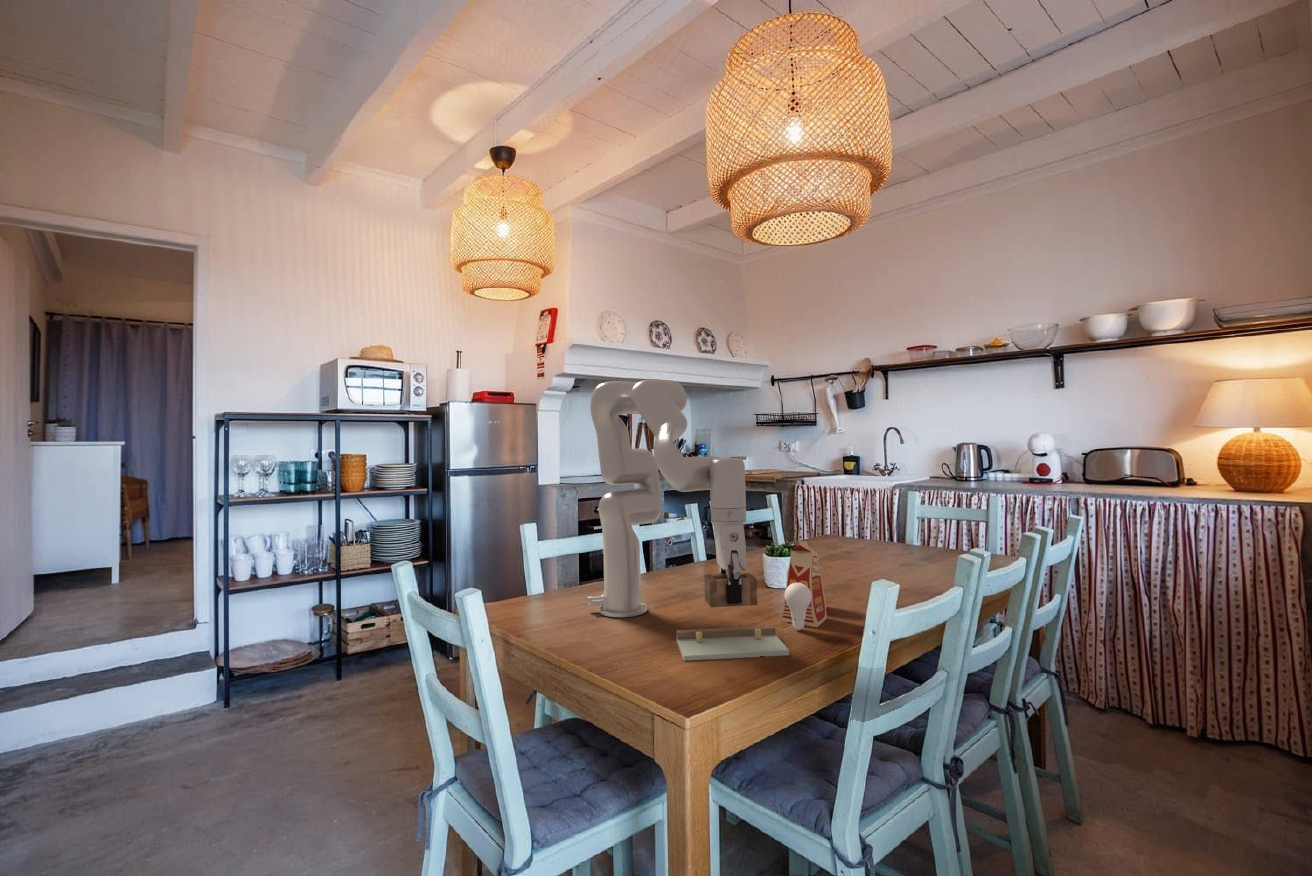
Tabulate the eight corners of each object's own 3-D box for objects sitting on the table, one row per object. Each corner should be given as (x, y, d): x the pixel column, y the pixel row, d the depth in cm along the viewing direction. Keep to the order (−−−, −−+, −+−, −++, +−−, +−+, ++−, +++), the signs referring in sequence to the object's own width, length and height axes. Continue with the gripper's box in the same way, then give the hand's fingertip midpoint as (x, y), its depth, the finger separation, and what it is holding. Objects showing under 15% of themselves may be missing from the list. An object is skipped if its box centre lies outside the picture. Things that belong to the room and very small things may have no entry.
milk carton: (816, 627, 147) (815, 542, 147) (779, 621, 152) (778, 539, 152) (828, 617, 155) (826, 536, 155) (792, 612, 160) (791, 534, 159)
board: (683, 660, 127) (683, 646, 127) (676, 641, 139) (676, 627, 139) (789, 655, 129) (789, 640, 129) (773, 636, 141) (773, 623, 141)
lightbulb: (794, 624, 149) (793, 578, 149) (817, 630, 145) (816, 582, 145) (779, 630, 145) (779, 583, 145) (802, 636, 141) (802, 587, 141)
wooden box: (710, 607, 130) (709, 581, 130) (705, 599, 136) (704, 574, 136) (757, 605, 131) (756, 578, 131) (750, 597, 137) (749, 572, 137)
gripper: (755, 520, 125) (757, 609, 125) (736, 510, 143) (738, 588, 143) (718, 521, 125) (721, 611, 125) (704, 511, 142) (706, 590, 142)
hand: (730, 598), depth 134 cm, fingers closed on wooden box, 6 cm apart
